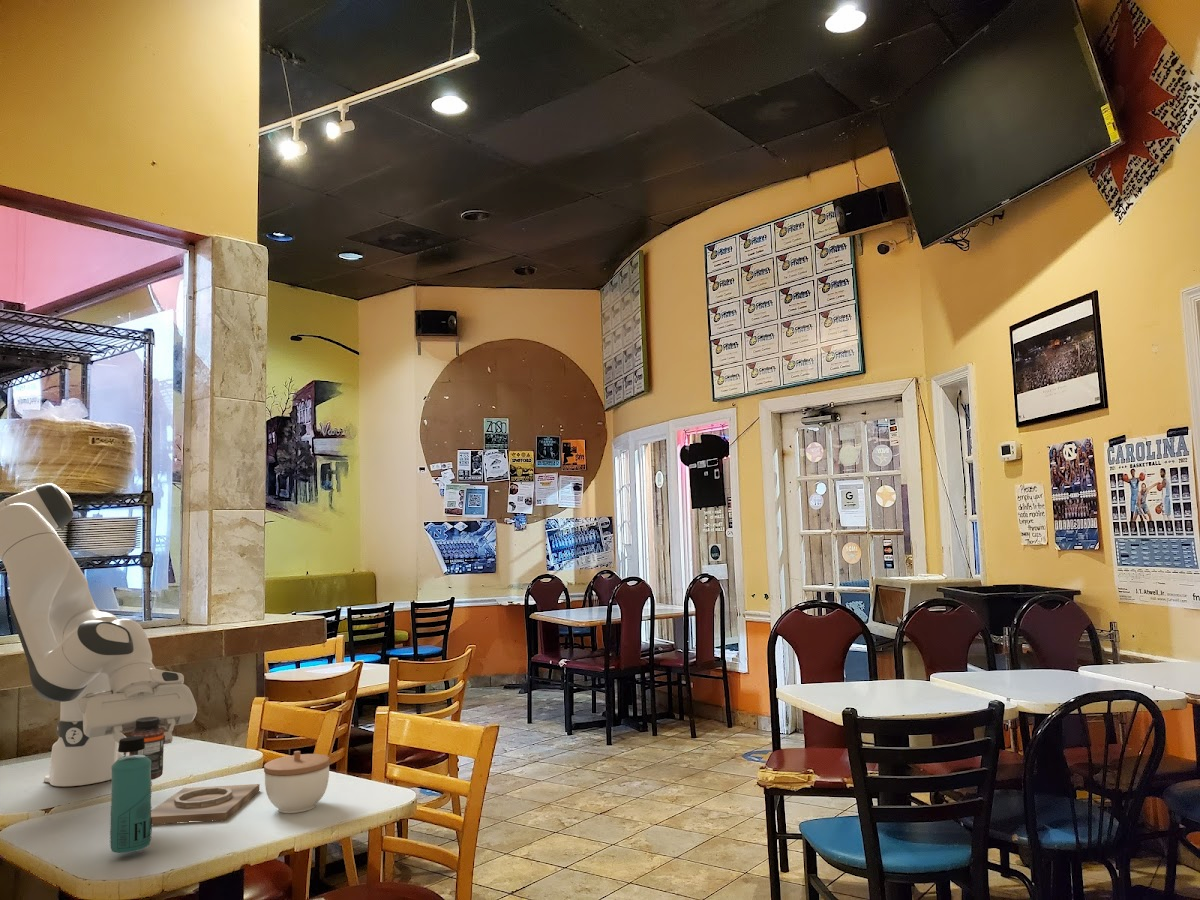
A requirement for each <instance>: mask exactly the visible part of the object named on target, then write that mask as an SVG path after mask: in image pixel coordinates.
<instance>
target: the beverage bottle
mask: <svg viewBox="0 0 1200 900" xmlns="http://www.w3.org/2000/svg"><path fill="white" fill-rule="evenodd" d="M126 737H127V738H123V739H121V740H120V741H119V748H118V752H134V751H139V750H142V749H144V748H145V744H144V737H142V736H133V737H130V736H126ZM111 770H112V779H111V796H110V797H111V798H110V799H111V803H110V808H109V809H110V814H109V815H110V830H109V841H110V849H111V852H112V853H117V854H125V853H130V852H131V853H132V852H136V851H140V850H143V849H145V848H147V847H148V846H149V845H151V841H152V833H153V829H152V828H153V827H152V826H153V825H152V819H151V810H152V809H153V808H152V798H153V797H152V793H153V791H152V786H153V784H152V783H153V780H151V778H152V777H151V760H150V759H149V758H148V757H146V756H145V755H131V756H125V757H122V758H119V759H118V760H117V761H116V762H115V763H114V764H113V765H112V767H111Z"/></svg>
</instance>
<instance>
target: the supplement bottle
mask: <svg viewBox="0 0 1200 900" xmlns="http://www.w3.org/2000/svg"><path fill="white" fill-rule="evenodd" d="M158 724H159V718H158V717H144V718H139V719H137V720H136V728H135V730H134V731H132V732H130V735H129V737H133V736H142V737H144V744H145V748H144V749H142V750H139V751H134V752H129V756H131V755H145V756H146V757H148V758H149V759H150V760H151V777H152V778H151V781H153V780H157V779H158V778H160V777H161V776H162V775H163V770H164V745H165V744H164V732H165V731H164V729H163V728H162V727H160V728H159V727H158Z"/></svg>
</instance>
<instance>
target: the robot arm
mask: <svg viewBox="0 0 1200 900" xmlns="http://www.w3.org/2000/svg"><path fill="white" fill-rule="evenodd" d="M73 510H74V507H73V503H72V500H71V497H70V496H69V494H67V493H66V492H65V490H64V489H62V488H60V487H59V486H57V484H54V483H44V484H39V485H37V486H34V488H32V489H28V490H26V491H22V492H19V493H16V494H14V495H11V496H9V497H6V498H4V499H3V500H2V501H0V560H1V562H2V563H3V565H4V568H5V570H6V572H7V577H8V583H9V601H8V603H9V604H8V605H9V606H8V607H9V611H10V615H11V618H12V620H13V624H14V627H15V629H16V633H17V636H18V638H19V641H20V643H21V646H22V650H23V652H24V654H25V657H26V661H27V664H28V672H29V679H30V683H31V686H32V688H33V690H34V692H35V693H36V694H37V695H38V696H39V697H40V698H42V699H43V700H46V701H50V702H55V703H60V706H59V707H60V709H59V710H60V711H59V714H60V715H59V716H60V717H59V720H58V721H57V722H58V723H57V727H56V731H57V737H58V738H57V741H55V742H54V743H53V744H52V747H51V754H50V765H49V773H48V774H47V775H45V776H44V777H43V782H45V783H49V784H50V785H51V786H53V787H75V786H85V785H91V784H98V783H102V782H105V781H110V780H112V770H111V767H112V765H113V764H114V763H115V762H116V761H117V760H118V759H119V758H122V757H125V756H129V752H118V748H119V741H120V740H121V739H123V738H127V737H128V736H126V735H124V734H125V733H132V732H133V731H134V730H135V728H136V720H137V719H139V718H144V717H158V718H159V724H158V727H159V728H164V729H165V731H164V745H167V744H172V742H173V731H174V728H175V726H179V725H187V724H191V723H192V722H193V720H194V719H195V718H196V715H197V712H198V707H197V702H196V700H195V697H194V695H193V693H192V691H191V689H190V687H189V686H188V685H186V684H185V683H184V681H185V676H184V674H183V673H181V672H175V671H168V670H163V669H160V668H156V666H155V665H154V663H153V652H152V651H153V650H152V648H151V644H150V642H149V638H148V636H147V634H146V631H145V630H144V628H143V627H142V625H140V623H139V622H137V621H135V620H133V619H130V618H118V617H117V616H116V615H114V614H113V613H110V612H107V611H100V610H99V609H98V608H97V606H96V603H95V602H94V599H93V596H92V594H91V591H90V587H89V583H88V582H89V581H88V579H87V578H86V576H85V574H84V572H83V570H82V569H81V568H80V566H79V565H78V563H77V561H76V560H75V558H74V556H73V555H72V553H71V551H70V550H69V549H68V547H67V545H66V544H65V543H64V541H63V540H62V538H61V537H60V536H59V534H58V532H57V529H60V530H61V532H62V531H64V530H65V527H66V526H67V525H68V524H69V523H70V522H71V521H72V519H73V517H74V512H73Z"/></svg>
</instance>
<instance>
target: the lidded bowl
mask: <svg viewBox="0 0 1200 900" xmlns="http://www.w3.org/2000/svg"><path fill="white" fill-rule="evenodd" d="M330 762H331V761H330V757H329V756H328V755H326V754H321V753H303V754H302V753H301V750H295V751H293V754H292V755H285V756H283V757H277V758H274V759H272V760H269V761H268V762H266V763H265V764H264V765H263V772H264V787H265V792H266V796H267V798H268V800H269V801H270V803H271V804H272V805H273V806H274V807H275V808H277V810H278V812H279V813H282V814H297V813H304V812H308V811H310V810H313V809H314V808H316V806H317V804H318V803H319V801H320V800H321V799H322V798H323V796H324V795H325V793H326V791H327V787H328V784H329V778H330V764H331V763H330Z"/></svg>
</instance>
